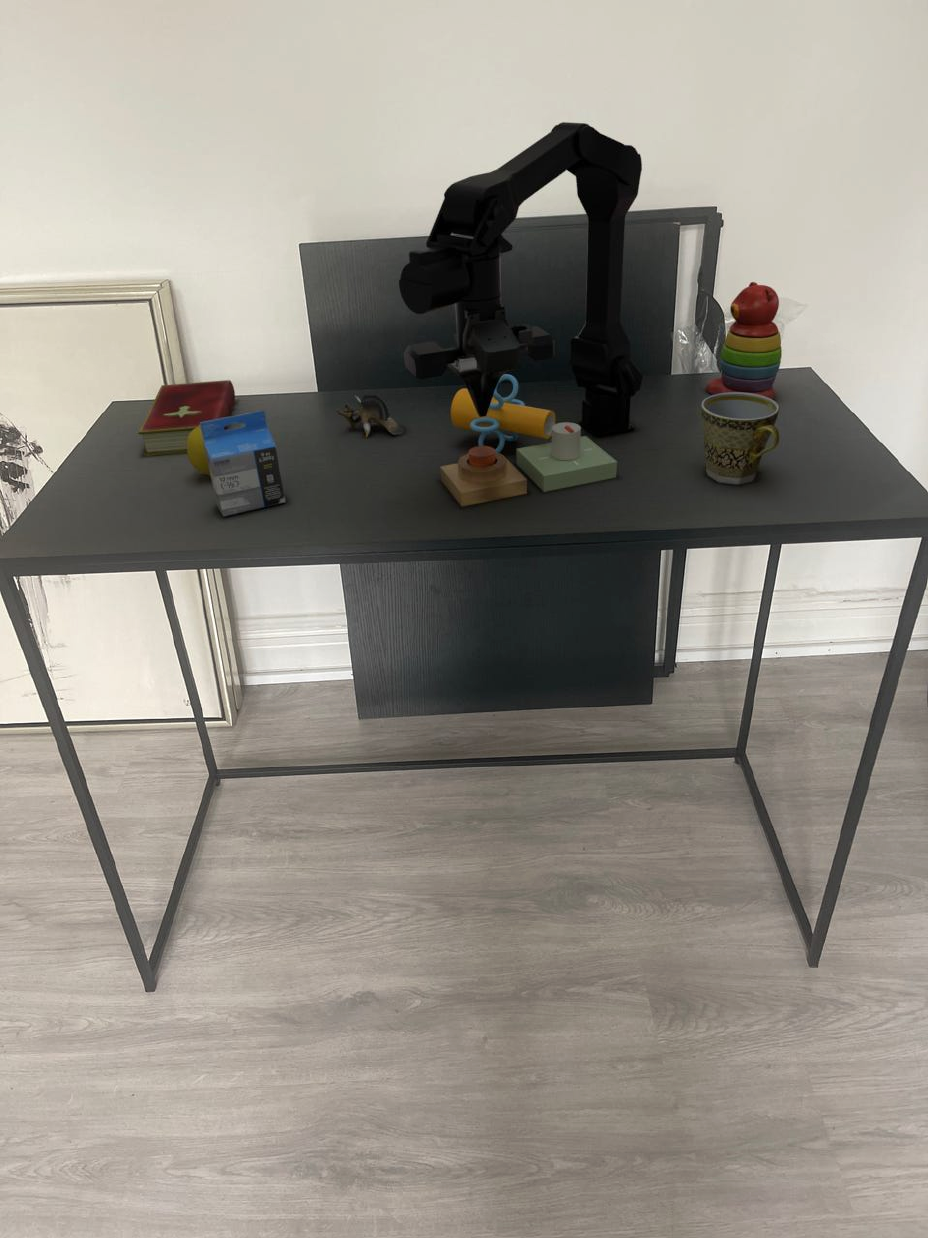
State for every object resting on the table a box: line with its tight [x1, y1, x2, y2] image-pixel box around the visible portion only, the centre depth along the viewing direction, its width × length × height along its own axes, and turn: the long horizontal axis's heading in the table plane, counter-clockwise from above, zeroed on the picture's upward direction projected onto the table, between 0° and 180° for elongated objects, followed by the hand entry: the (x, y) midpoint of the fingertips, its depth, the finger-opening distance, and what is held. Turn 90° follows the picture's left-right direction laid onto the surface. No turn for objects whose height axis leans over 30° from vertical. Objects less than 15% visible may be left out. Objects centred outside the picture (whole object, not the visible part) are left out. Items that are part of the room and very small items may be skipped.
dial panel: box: [515, 435, 618, 493], centre depth 129 cm, size 11×10×3 cm
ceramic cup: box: [700, 392, 780, 485], centre depth 122 cm, size 13×10×10 cm
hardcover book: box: [138, 379, 236, 457], centre depth 149 cm, size 12×21×4 cm, turn 6°
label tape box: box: [200, 410, 286, 517], centre depth 121 cm, size 9×4×12 cm, turn 114°
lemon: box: [186, 425, 211, 477], centre depth 131 cm, size 6×6×8 cm
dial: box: [551, 421, 582, 460], centre depth 127 cm, size 4×4×4 cm
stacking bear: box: [706, 281, 783, 400], centre depth 145 cm, size 11×10×18 cm
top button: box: [468, 445, 496, 467], centre depth 124 cm, size 4×4×2 cm
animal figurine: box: [335, 394, 404, 438], centre depth 143 cm, size 8×7×9 cm
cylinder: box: [450, 373, 557, 454], centre depth 134 cm, size 12×10×15 cm
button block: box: [439, 452, 528, 507], centre depth 125 cm, size 10×9×4 cm
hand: (482, 415), depth 121 cm, fingers closed
